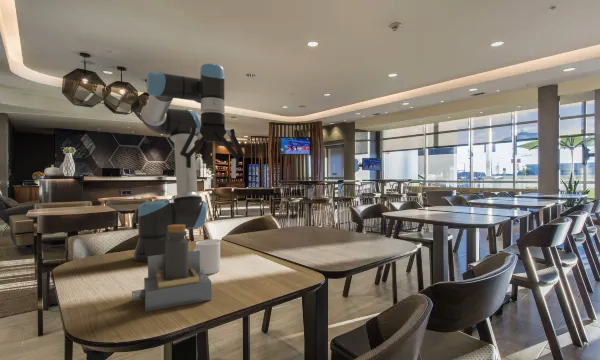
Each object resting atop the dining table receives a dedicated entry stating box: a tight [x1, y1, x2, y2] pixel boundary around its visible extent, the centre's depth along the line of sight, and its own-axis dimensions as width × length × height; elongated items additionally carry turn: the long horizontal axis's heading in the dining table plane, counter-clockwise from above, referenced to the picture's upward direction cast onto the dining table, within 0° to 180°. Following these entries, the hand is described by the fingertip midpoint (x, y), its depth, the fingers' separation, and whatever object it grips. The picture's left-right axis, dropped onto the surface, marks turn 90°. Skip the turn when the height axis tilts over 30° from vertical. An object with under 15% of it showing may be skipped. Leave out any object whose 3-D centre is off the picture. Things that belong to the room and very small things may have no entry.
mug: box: [193, 239, 221, 276], centre depth 111 cm, size 12×8×10 cm
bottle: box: [165, 224, 189, 280], centre depth 88 cm, size 6×6×15 cm
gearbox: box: [131, 250, 212, 313], centre depth 87 cm, size 12×19×11 cm, turn 117°
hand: (213, 178), depth 105 cm, fingers open, 13 cm apart
